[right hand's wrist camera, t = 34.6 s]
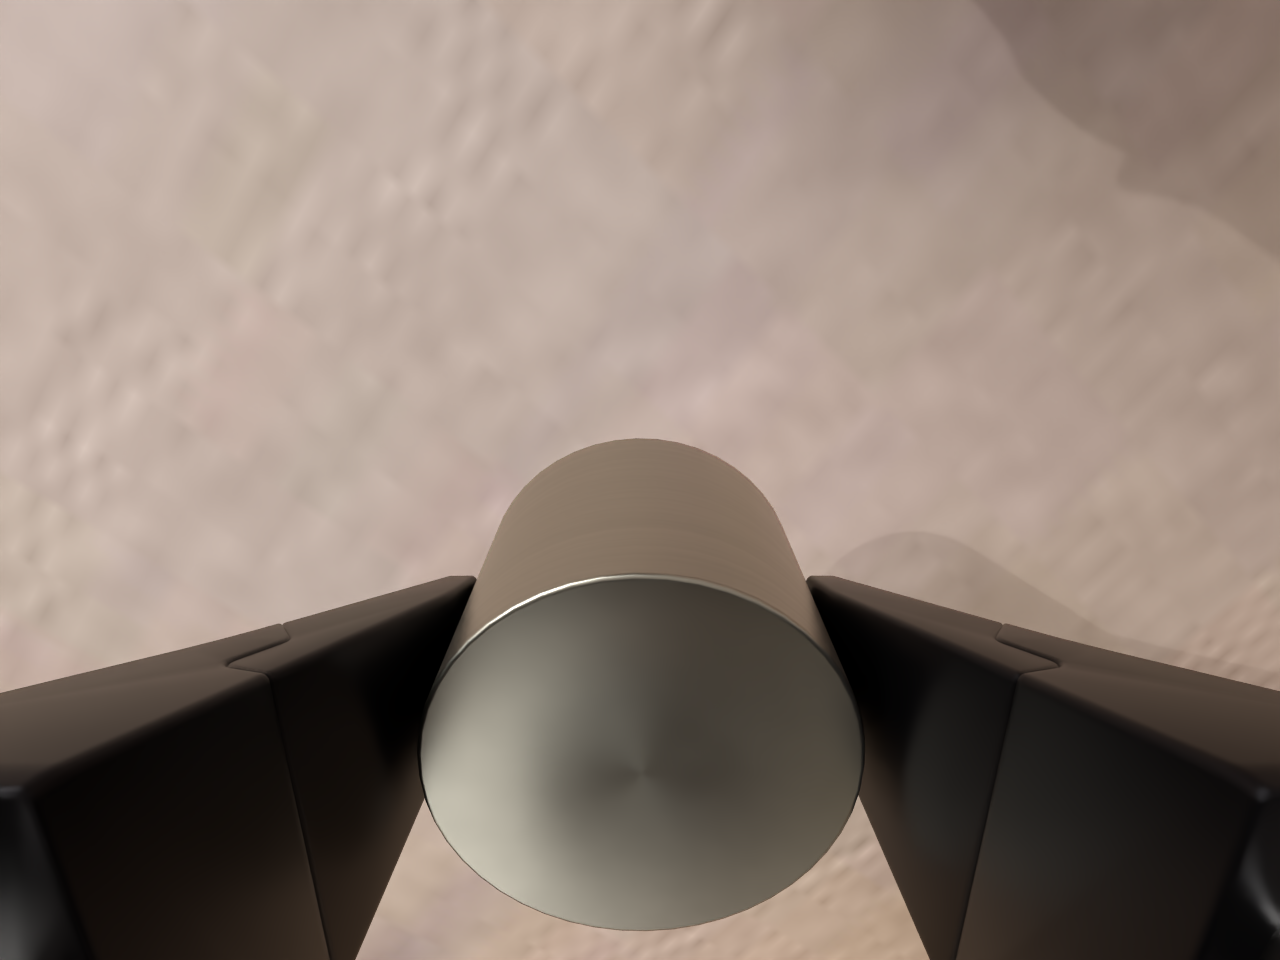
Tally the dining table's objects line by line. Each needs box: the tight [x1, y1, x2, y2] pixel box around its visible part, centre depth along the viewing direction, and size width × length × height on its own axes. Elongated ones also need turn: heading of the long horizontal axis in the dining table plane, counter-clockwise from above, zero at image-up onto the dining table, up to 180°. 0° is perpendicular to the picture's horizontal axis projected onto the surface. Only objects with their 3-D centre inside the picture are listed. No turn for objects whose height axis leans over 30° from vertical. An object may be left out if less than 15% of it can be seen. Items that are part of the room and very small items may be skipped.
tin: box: [417, 438, 865, 931], centre depth 10 cm, size 5×5×4 cm
